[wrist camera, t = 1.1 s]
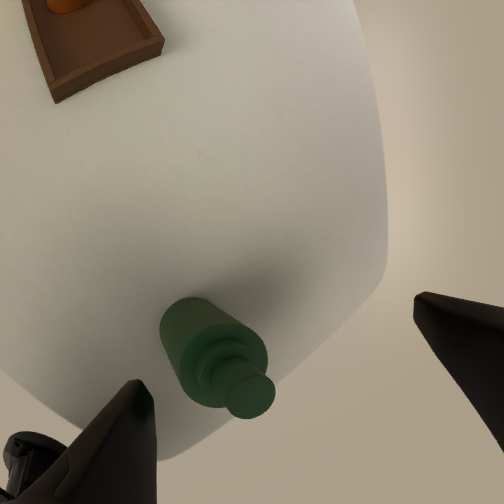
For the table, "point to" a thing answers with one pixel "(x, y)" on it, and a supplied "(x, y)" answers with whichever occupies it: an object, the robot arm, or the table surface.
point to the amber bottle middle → (66, 5)
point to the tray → (90, 42)
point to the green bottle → (217, 358)
